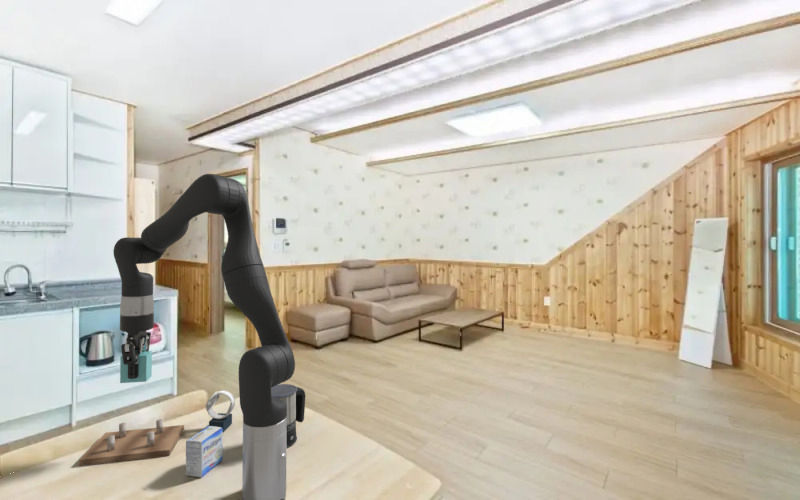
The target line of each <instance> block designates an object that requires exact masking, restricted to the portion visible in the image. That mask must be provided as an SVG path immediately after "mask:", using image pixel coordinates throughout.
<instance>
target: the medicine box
mask: <svg viewBox="0 0 800 500" xmlns="http://www.w3.org/2000/svg"><path fill="white" fill-rule="evenodd" d="M223 434H224V432H223V428H221V427H215V426H209V425H208V426H206V427H205V428H203V429H202V430H200V431H198V432H197V433H196V434H194V435H193V436H191V437H190V438H189V439H187V440H186V441H185V475H186V476H187V477H194V478H195V477H196V478H203V477H204V476H205V475H207V474H208V473H209V472H210V471H211V470H212V469H214V468H215V466H217V465H218V464H219V463H221V462H222V461H223V449H224V447H223V442H224V441H223V440H224V439H223V436H224V435H223Z"/></svg>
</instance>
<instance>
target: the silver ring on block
mask: <svg viewBox="0 0 800 500" xmlns="http://www.w3.org/2000/svg"><path fill="white" fill-rule="evenodd" d="M221 395H223V396H225V397H227V398H228V399H229V402H230V403H229V407H228V409H227V411H226V413H223V412H221V413H216V412H215V410H214V409H213V407H214V405H215V404H216V403H217V401H218V400H219V399H220V396H221ZM235 401H236V399H235V397H234V395H233V394H232V393H231V392H230V391H228V390H225V389H224V390H223V389H222V390H219V391H217V390H216V391H215V392H214V393H212V394H211V396H210V397H209V399H208V400H207V401H206V403H205V407H206V408H205V410H206V412H207V414H208V415H209V416H210V417H211V419H210V420H209V421H208V426H215V427H221V428H223V433H225V431H227V429H228V428H229V427H230V426H232V424H233V413H232V411H233V410H234V408H235V405H236V402H235Z"/></svg>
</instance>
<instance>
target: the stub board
mask: <svg viewBox="0 0 800 500" xmlns="http://www.w3.org/2000/svg"><path fill="white" fill-rule="evenodd" d="M155 422H156V423H155V427H151V428H149V427H148V428H141V429H139V428H138V429H129V430H127V422H121V423H119V424H118V431H109V432H108V431H107V432H104V434H103V435H102V436H101V437H100V438H99V439H97V441H96V442H95V443H94V444H93V445H92V446H91V447H89V449H88V450H87V451H86V452H85V453H84V454H83V455H82V456H81V457H80V458H79V459H78V466H79V467H81V466H83V467H84V466H89V465H90V466H91V465H98V464H109V463H115V462H116V463H117V462H124V461H134V460H141V459H150V458H160V457H170V456H171V453H173V451H174V449H175V447H176V445H177V443H178V441H179V440H180V438H181V437H182V434H183V433H184V431H185V424H180V425H170V426H164V419H162V418H159V419H157V420H156V421H155Z"/></svg>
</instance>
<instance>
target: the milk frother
mask: <svg viewBox="0 0 800 500" xmlns="http://www.w3.org/2000/svg"><path fill="white" fill-rule="evenodd" d="M271 393H272V397H273V398H279V399H281V400H283V401H285V403H286V405H287V439H286V443H287V449H288V448H290V447H291V446H293V445H295V443H296V442H297V440H298V437H297V422H298V423H303V422H304V420H305V409H306V392H305V390H304V388H301V387H298V386H295V385H293V384H288V383H283V384H282V383H280V384H278V385H276V386H274V387H271Z"/></svg>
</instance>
